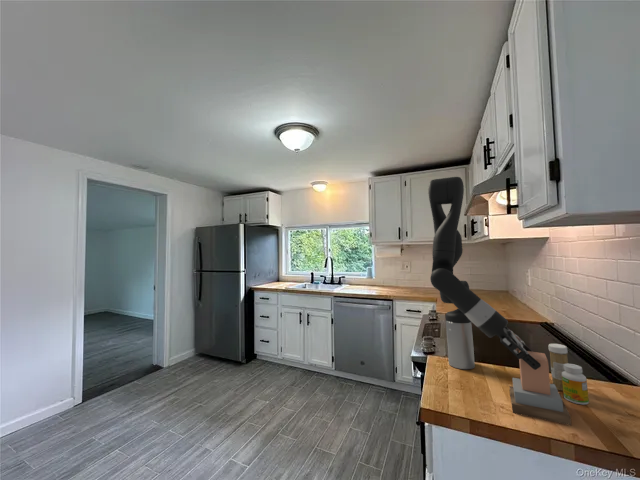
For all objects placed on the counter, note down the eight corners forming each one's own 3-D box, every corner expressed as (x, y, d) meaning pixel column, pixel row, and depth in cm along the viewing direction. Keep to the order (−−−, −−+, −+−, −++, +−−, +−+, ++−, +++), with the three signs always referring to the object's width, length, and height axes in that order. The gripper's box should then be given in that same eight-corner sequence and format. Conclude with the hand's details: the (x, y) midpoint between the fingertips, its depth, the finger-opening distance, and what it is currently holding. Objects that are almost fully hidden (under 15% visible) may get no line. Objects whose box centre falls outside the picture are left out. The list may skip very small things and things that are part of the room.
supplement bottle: (559, 398, 80) (556, 364, 81) (570, 394, 82) (567, 361, 83) (582, 406, 75) (578, 370, 76) (593, 402, 77) (589, 367, 78)
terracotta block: (520, 380, 80) (518, 349, 81) (546, 385, 77) (544, 353, 78) (522, 389, 75) (520, 356, 76) (550, 395, 72) (548, 360, 73)
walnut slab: (510, 396, 84) (509, 385, 84) (561, 405, 78) (560, 394, 78) (512, 415, 74) (511, 403, 74) (571, 428, 67) (570, 415, 68)
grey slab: (513, 387, 83) (512, 377, 83) (555, 395, 78) (554, 384, 78) (515, 402, 75) (514, 391, 75) (563, 412, 69) (562, 400, 69)
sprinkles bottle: (554, 384, 89) (550, 342, 90) (572, 388, 86) (568, 345, 87) (550, 388, 86) (546, 345, 87) (570, 393, 83) (565, 348, 84)
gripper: (495, 314, 76) (552, 362, 69) (494, 305, 88) (542, 346, 81) (475, 331, 79) (528, 380, 72) (477, 320, 91) (522, 361, 84)
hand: (535, 362), depth 76 cm, fingers open, 8 cm apart
